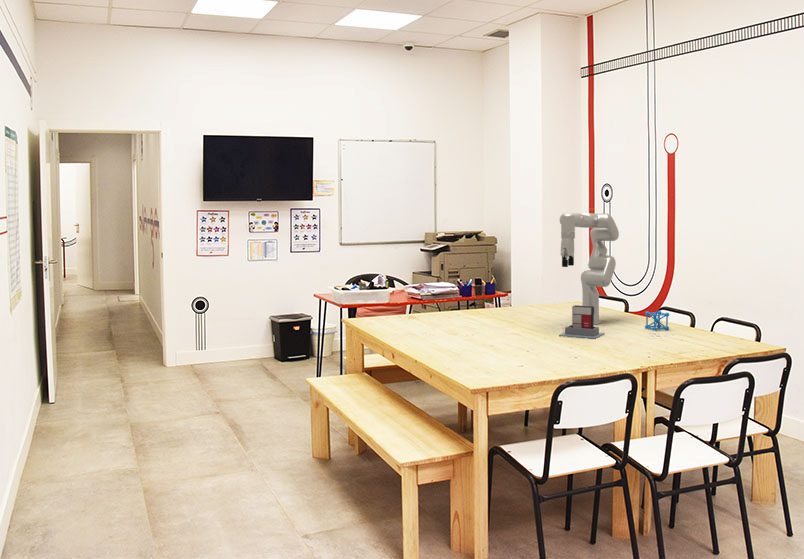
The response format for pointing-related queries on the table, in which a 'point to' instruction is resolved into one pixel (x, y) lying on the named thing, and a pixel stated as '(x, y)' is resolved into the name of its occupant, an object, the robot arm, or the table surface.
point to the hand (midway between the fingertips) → (567, 266)
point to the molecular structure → (657, 320)
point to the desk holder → (582, 332)
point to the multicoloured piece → (583, 317)
